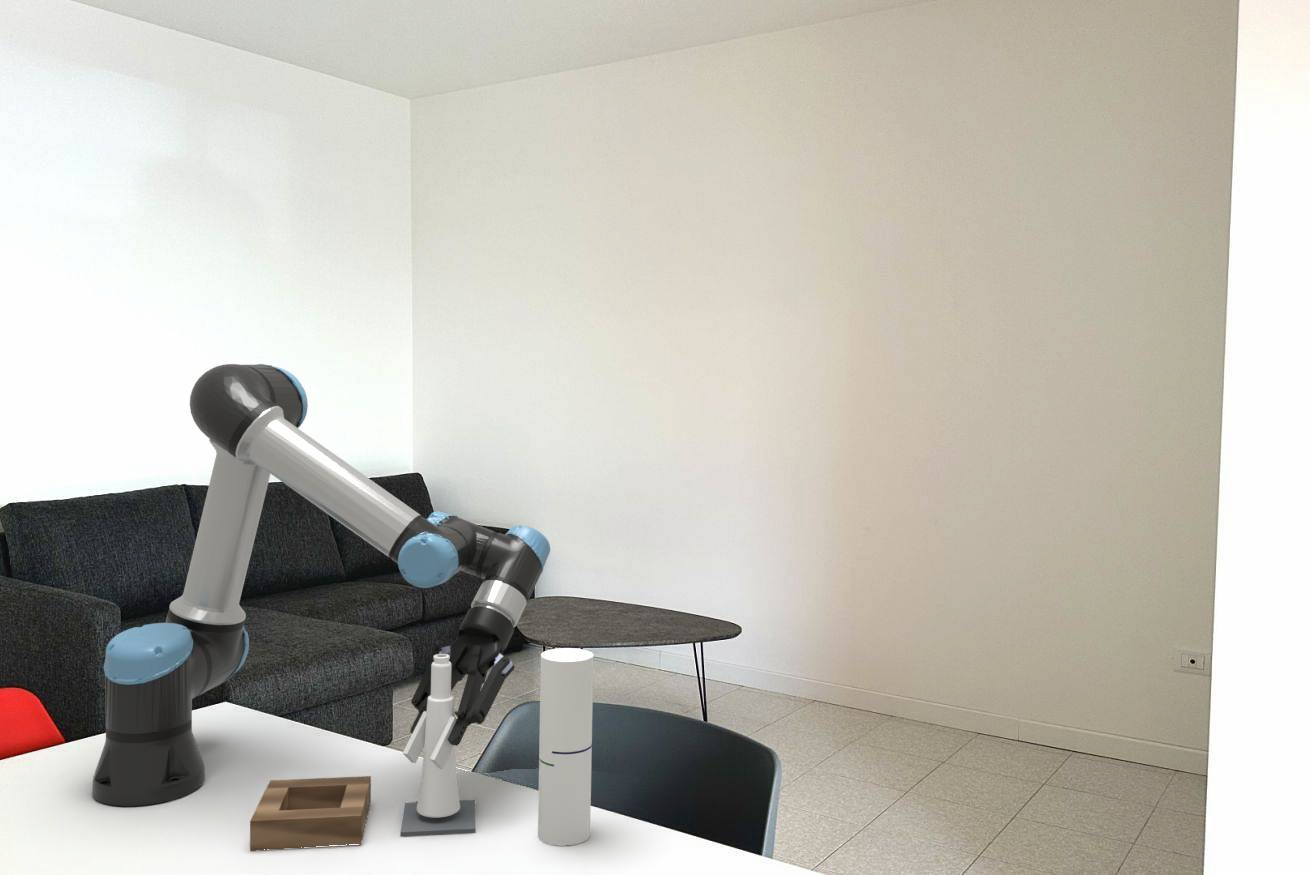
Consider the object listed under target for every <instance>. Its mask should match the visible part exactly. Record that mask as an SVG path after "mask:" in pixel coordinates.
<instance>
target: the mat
mask: <svg viewBox="0 0 1310 875" xmlns="http://www.w3.org/2000/svg"><path fill="white" fill-rule="evenodd" d="M459 802H460V809H459V811H458V812H457V813H455V814H453V815H450V816H447V817H440V818H431V817H425V816H422V815H420V814H419V813H418V812H417V804H418V801H416V802H414V801H413V802H405V803H404V807H403V814H402V821H401V827H400V836H404V837H421V836H436V835H439V836H440V835H442V836H443V835H456V834H458V835H460V834H476V799H459ZM400 836H399V837H400Z"/></svg>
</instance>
